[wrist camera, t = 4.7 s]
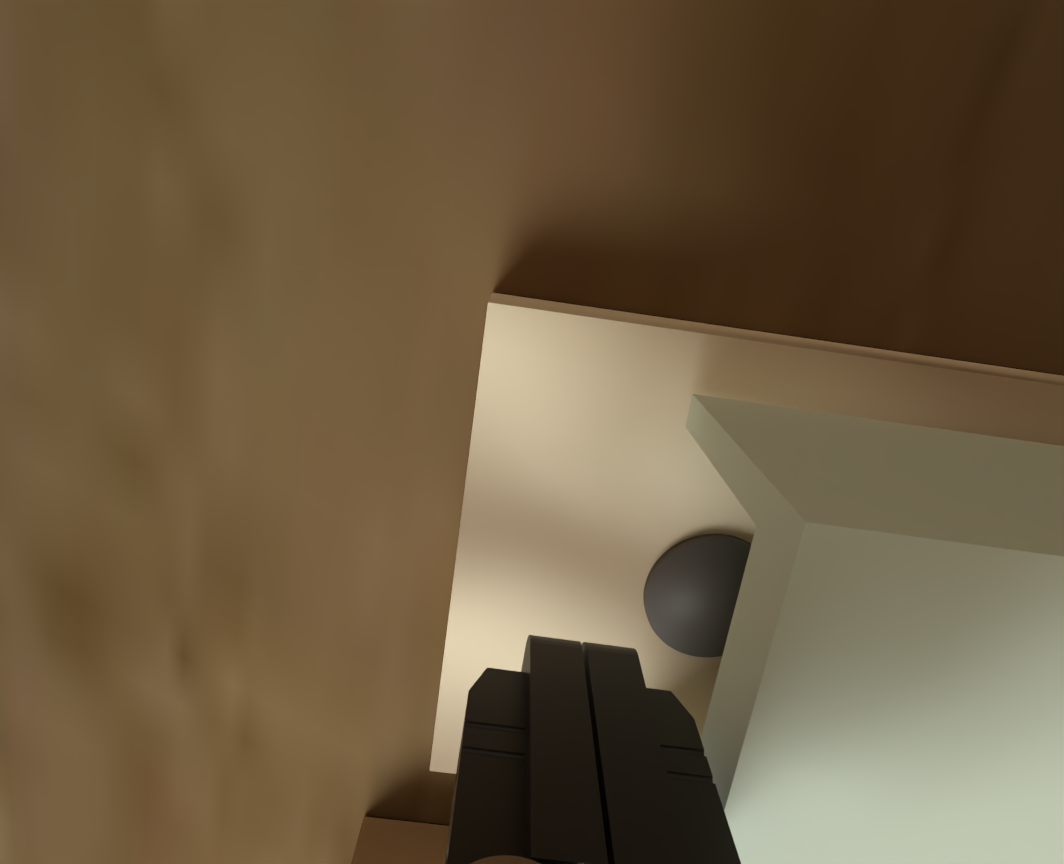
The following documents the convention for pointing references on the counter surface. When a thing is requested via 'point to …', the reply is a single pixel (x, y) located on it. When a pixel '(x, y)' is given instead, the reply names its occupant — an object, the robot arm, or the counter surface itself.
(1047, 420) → the board
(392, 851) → the socket board
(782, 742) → the cover
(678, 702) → the robot arm
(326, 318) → the counter surface
